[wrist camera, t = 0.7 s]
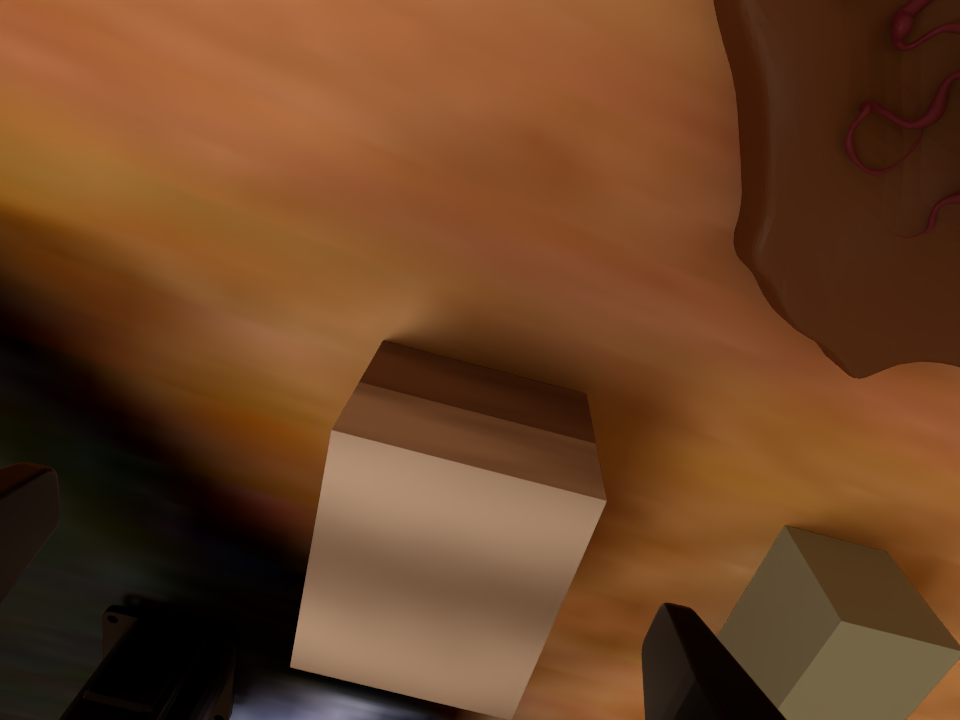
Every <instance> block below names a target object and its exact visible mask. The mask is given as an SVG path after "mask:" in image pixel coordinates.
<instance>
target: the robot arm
mask: <svg viewBox="0 0 960 720" xmlns="http://www.w3.org/2000/svg"><path fill="white" fill-rule="evenodd" d="M60 516H61V505H60V495H59V484H58V476H57V473H56V471H55V470H54V469H53V468H51V467H48V466H43V465H39V464H34V463H29V462H21V463H17V464H14V465H11V466H8V467H5V468H2V469H0V604H1V603H2V602H3V600H4V599H5V598H6V596H7V595H8V594H9V592H10V591H11V589H12V588H13V587H14V585H15V584H16V583H17V581H18V580H19V578H20V577H21V576H22V574H23V573H24V572H25V570H26V569H27V567H28V566H29V565H30V563H31V562H32V561H33V559H34V558H35V557H36V555H37V554H38V552H39V551H40V550H41V548H42V547H43V546H44V544H45V543H46V541H47V540H48V539H49V537H50V536H51V535H52V533H53V532H54V530H55V529H56V527H57V525H58V523H59V520H60ZM102 627H103V661H102V662H101V664H100V665H99V666H98V668H97V669H96V670H95V672H94V673H93V674H92V676H91V677H90V678H89V680H88V681H87V682H86V684H85V685H84V687H83V688H82V689H81V691H80V692H79V693H78V695H77V696H76V697H75V699H74V700H73V701H72V703H71V704H70V705H69V707H68V708H67V709H66V711H65V712H64V713H63V715H62V716H61V717H60V719H59V720H229V719H230V716H231V714H232V708H233V700H234V692H235V683H236V675H237V667H238V658H239V650H240V639H239V637H238V636H237V635H235V634H233V633H230V632H226V631H222V630H218V629H213V628H209V627H205V626H201V625H197V624H193V623H189V622H185V621H180V620H176V619H172V618H168V617H164V616H160V615H156V614H152V613H147V612H143V611H139V610H135V609H131V608H127V607H123V606H119V605H112V606H110V607H108V609H107V610H106V611H105V612H104V614H103V616H102ZM642 672H643V690H644V707H645V720H787V719H786V718H785V717H784V716H783V715H782V713H781V712H780V711H779V710H778V709H777V707H776V706H775V705H774V704H773V703H772V702H771V700H770V699H769V698H768V697H767V696H766V695H765V693H764V692H763V691H762V690H761V689H760V688H759V686H758V685H757V684H756V683H755V682H754V680H753V679H752V678H751V677H750V676H749V675H748V673H747V672H746V671H745V670H744V669H743V668H742V666H741V665H740V664H739V663H738V662H737V661H736V659H735V658H734V657H733V656H732V655H731V653H730V652H729V651H728V650H727V649H726V648H725V646H724V645H723V644H722V643H721V642H720V641H719V639H718V638H717V637H716V636H715V635H714V634H713V632H712V631H711V630H710V629H709V628H708V626H707V625H706V624H705V623H704V622H703V621H702V619H701V618H700V617H699V616H698V615H697V614H696V612H695V611H694V610H692V609H691V608H689V607H686V606H682V605H677V604H672V603H664V604H662V605H661V606H660V608H659V609H658V611H657V613H656V615H655V618H654V620H653V622H652V624H651V626H650V628H649V630H648V632H647V634H646V637H645V639H644V642H643V646H642Z"/></svg>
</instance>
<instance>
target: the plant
mask: <svg viewBox="0 0 960 720" xmlns="http://www.w3.org/2000/svg"><path fill="white" fill-rule="evenodd" d="M713 1H714V6H715V11H716V16H717V21H718V24H719V28H720V32H721V36H722V40H723V44H724V47H725V50H726V54H727V57H728V61H729V64H730V68H731V71H732V75H733V81H734V86H735V91H736V100H737V109H738V124H739V140H740V156H741V179H742V199H741V207H740V213H739V218H738V221H737V225H736V228H735V231H734V247H735V251H736V253H737V256H738V257H739V258H740V260H741V261H742V262H743V263H744V264H745V265H746V266H747V267H748V268H749V269H750V270H751V272H752V273H753V274H754V276H755V278H756V280H757V282H758V285H759V287H760V289H761V291H762V293H763V295H764V296H765V298H766V299H767V301H768V302H769V304H770V305H771V307H772V308H773V309H774V310H775V311H776V312H777V313H778V314H779V315H780V316H781V317H782V318H783V319H784V320H786V321H787V322H788V323H789V324H790V325H791V326H792V327H793V328H795V329H796V330H797V331H799V332H800V333H802V334H803V335H805V336H807V337H808V338H810V339H812V340H814V341H815V342H816V343H817V344H818V345H819V347H820V348H821V349H822V351H823V352H824V353H825V355H826V356H827V357H828V358H829V359H831V360H832V361H833V362H834V363H835V364H836V365H838V366H839V367H840V368H841V369H842V370H843V371H844V372H846V373H847V374H848V375H849V376H851V377H853V378H858V379H860V378H864V377H868V376H870V375H873V374H875V373H878V372H880V371H882V370H885V369H887V368H890V367H893V366H896V365H899V364H905V363H912V362H936V363H944V364H949V365H954V366H957V367H960V0H713Z"/></svg>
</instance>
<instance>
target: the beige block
mask: <svg viewBox="0 0 960 720" xmlns="http://www.w3.org/2000/svg"><path fill="white" fill-rule="evenodd" d="M606 502H607V499H606V494H605V489H604V483H603V478H602V473H601V468H600V463H599V457H598V452H597V447H596V442H595V437H594V432H593V426H592V421H591V416H590V411H589V406H588V401H587V395H586V394H583V393H579V392H575V391H571V390H568V389H564V388H560V387H556V386H552V385H549V384H545V383H541V382H537V381H534V380H530V379H526V378H522V377H518V376H515V375H511V374H507V373H503V372H499V371H496V370H492V369H488V368H484V367H481V366H477V365H473V364H469V363H465V362H462V361H458V360H454V359H450V358H447V357H443V356H439V355H435V354H431V353H428V352H424V351H420V350H416V349H413V348H409V347H405V346H401V345H397V344H394V343H390V342H386V341H383V342H382V343H381V345H380V347H379V349H378V350H377V352H376V354H375V356H374V357H373V359H372V361H371V362H370V364H369V366H368V368H367V369H366V371H365V373H364V375H363V376H362V378H361V380H360V382H359V383H358V385H357V387H356V388H355V390H354V392H353V394H352V395H351V397H350V399H349V401H348V402H347V404H346V406H345V408H344V409H343V411H342V413H341V415H340V416H339V418H338V420H337V421H336V423H335V425H334V427H333V428H332V430H331V436H330V442H329V447H328V453H327V459H326V465H325V470H324V476H323V482H322V487H321V493H320V499H319V505H318V510H317V516H316V522H315V527H314V533H313V539H312V544H311V550H310V556H309V562H308V567H307V573H306V579H305V584H304V590H303V596H302V602H301V607H300V613H299V619H298V624H297V630H296V636H295V642H294V647H293V653H292V659H291V664H290V667H291V668H296V669H300V670H304V671H308V672H312V673H316V674H321V675H325V676H329V677H333V678H337V679H341V680H345V681H350V682H354V683H358V684H362V685H366V686H370V687H374V688H379V689H383V690H387V691H391V692H395V693H399V694H403V695H408V696H412V697H416V698H420V699H424V700H428V701H433V702H437V703H441V704H445V705H449V706H453V707H457V708H462V709H466V710H470V711H474V712H478V713H482V714H486V715H491V716H495V717H499V718H503V719H507V720H512V718H513V716H514V714H515V711H516V709H517V707H518V704H519V702H520V700H521V697H522V695H523V693H524V691H525V688H526V686H527V684H528V681H529V679H530V677H531V674H532V672H533V670H534V668H535V665H536V663H537V661H538V658H539V656H540V654H541V651H542V649H543V647H544V645H545V642H546V640H547V638H548V635H549V633H550V631H551V628H552V626H553V624H554V622H555V619H556V617H557V615H558V612H559V610H560V608H561V605H562V603H563V601H564V599H565V596H566V594H567V592H568V589H569V587H570V585H571V582H572V580H573V578H574V576H575V573H576V571H577V569H578V566H579V564H580V562H581V559H582V557H583V555H584V553H585V550H586V548H587V546H588V543H589V541H590V539H591V536H592V534H593V532H594V530H595V527H596V525H597V523H598V520H599V518H600V516H601V513H602V511H603V509H604V507H605V504H606Z"/></svg>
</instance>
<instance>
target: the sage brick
mask: <svg viewBox="0 0 960 720" xmlns="http://www.w3.org/2000/svg"><path fill="white" fill-rule="evenodd" d="M717 638H718V639H719V641H720V642H721V643H722V644H723V645H724V646H725V648H726V649H727V650H728V651H729V652H730V653H731V655H732V656H733V657H734V658H735V659H736V661H737V662H738V663H739V664H740V665H741V666H742V668H743V669H744V670H745V671H746V672H747V673H748V675H749V676H750V677H751V678H752V679H753V680H754V682H755V683H756V684H757V685H758V686H759V688H760V689H761V690H762V691H763V692H764V693H765V695H766V696H767V697H768V698H769V699H770V700H771V702H772V703H773V704H774V705H775V706H776V707H777V709H778V710H779V711H780V712H781V713H782V715H783V716H784V717H785V718H786V719H787V720H906V719H907V718H908V717H909V716H910V715H911V713H912V712H913V711H914V710H915V709H916V708H917V707H918V705H919V704H920V703H921V702H922V701H923V700H924V699H925V697H926V696H927V695H928V694H929V693H930V692H931V691H932V689H933V688H934V687H935V686H936V685H937V684H938V683H939V681H940V680H941V679H942V678H943V677H944V676H945V675H946V673H947V672H948V671H949V670H950V669H951V668H952V667H953V665H954V664H955V663H956V662H957V661H958V660H959V659H960V645H959V644H958V643H957V641H956V640H955V639H954V637H953V636H952V635H951V634H950V632H949V631H948V630H947V628H946V627H945V626H944V625H943V623H942V622H941V621H940V620H939V618H938V617H937V616H936V614H935V613H934V612H933V611H932V609H931V608H930V607H929V605H928V604H927V603H926V602H925V600H924V599H923V598H922V596H921V595H920V594H919V593H918V591H917V590H916V589H915V588H914V586H913V585H912V584H911V582H910V581H909V580H908V579H907V577H906V576H905V575H904V573H903V572H902V571H901V570H900V568H899V567H898V566H897V565H896V563H895V562H894V561H893V559H892V558H891V557H890V556H889V554H888V553H887V552H885V551H881V550H877V549H874V548H870V547H866V546H862V545H858V544H854V543H850V542H847V541H843V540H839V539H835V538H831V537H827V536H823V535H820V534H816V533H812V532H808V531H804V530H800V529H796V528H793V527H789V526H784V527H783V529H782V531H781V532H780V534H779V535H778V537H777V539H776V540H775V542H774V544H773V545H772V547H771V549H770V550H769V552H768V554H767V555H766V557H765V558H764V560H763V562H762V563H761V565H760V567H759V568H758V570H757V572H756V573H755V575H754V577H753V578H752V580H751V581H750V583H749V585H748V586H747V588H746V590H745V591H744V593H743V595H742V596H741V598H740V600H739V601H738V603H737V604H736V606H735V608H734V609H733V611H732V613H731V614H730V616H729V618H728V619H727V621H726V623H725V624H724V626H723V628H722V629H721V631H720V632H719V634H718V636H717Z"/></svg>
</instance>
